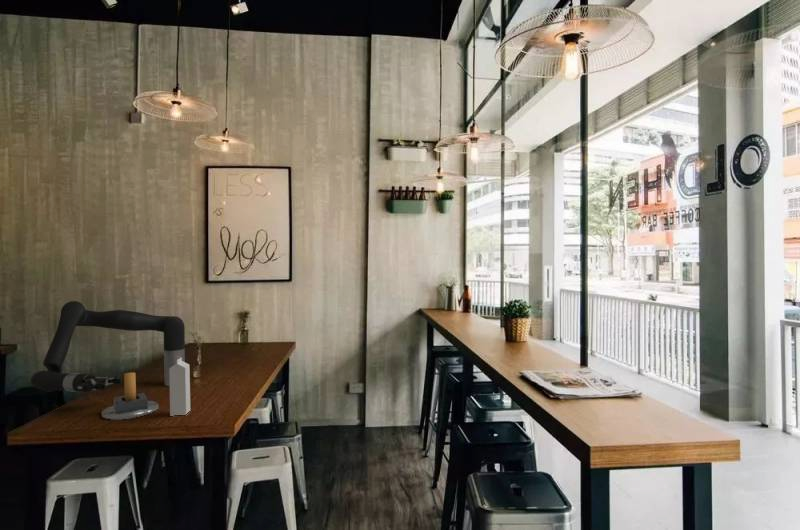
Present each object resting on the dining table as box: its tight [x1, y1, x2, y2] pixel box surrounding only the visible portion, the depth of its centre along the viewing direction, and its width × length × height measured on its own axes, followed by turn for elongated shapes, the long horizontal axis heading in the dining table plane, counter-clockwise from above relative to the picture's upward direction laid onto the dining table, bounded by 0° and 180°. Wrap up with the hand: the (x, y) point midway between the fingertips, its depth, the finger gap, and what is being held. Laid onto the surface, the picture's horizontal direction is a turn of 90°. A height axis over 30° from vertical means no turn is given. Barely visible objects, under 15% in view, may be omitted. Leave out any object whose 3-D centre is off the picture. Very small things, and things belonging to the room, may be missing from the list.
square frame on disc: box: [101, 392, 159, 421], centre depth 192 cm, size 20×20×6 cm
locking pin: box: [123, 372, 137, 401], centre depth 192 cm, size 4×4×14 cm
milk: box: [169, 357, 191, 417], centre depth 188 cm, size 6×6×22 cm
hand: (113, 384), depth 193 cm, fingers open, 8 cm apart
